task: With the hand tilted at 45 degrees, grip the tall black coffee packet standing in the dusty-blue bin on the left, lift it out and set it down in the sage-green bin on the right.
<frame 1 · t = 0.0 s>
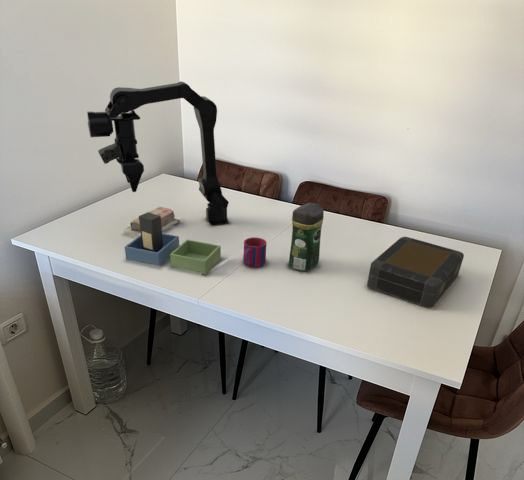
hand: (131, 187, 158), 15 cm above the table, tool pointing down, fingers open, 9 cm apart
red cup: (251, 265, 150), on the table
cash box: (411, 281, 146), on the table
blue bin: (153, 255, 153), on the table
packaged product: (152, 229, 169), on the table
coffee jar: (303, 265, 151), on the table
green bin: (196, 263, 149), on the table
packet: (153, 253, 153), point 1 cm above the table, touching blue bin
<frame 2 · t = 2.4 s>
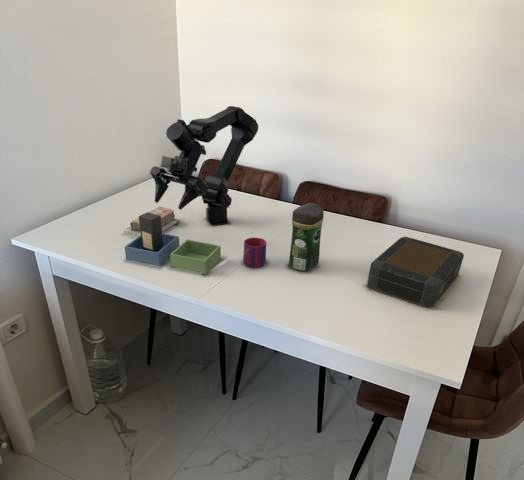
hand: (167, 205, 151), 13 cm above the table, tool tilted 45°, fingers open, 9 cm apart
nothing on the table moved.
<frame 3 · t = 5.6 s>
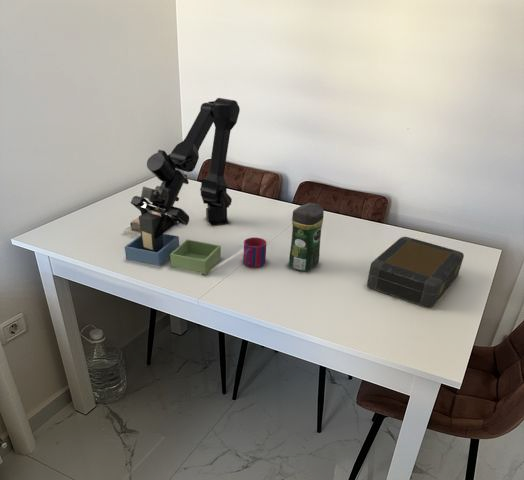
hand: (148, 235, 148), 7 cm above the table, tool tilted 45°, fingers closed on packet, 5 cm apart
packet: (153, 253, 153), point 1 cm above the table, touching blue bin, gripper
everything else where it was.
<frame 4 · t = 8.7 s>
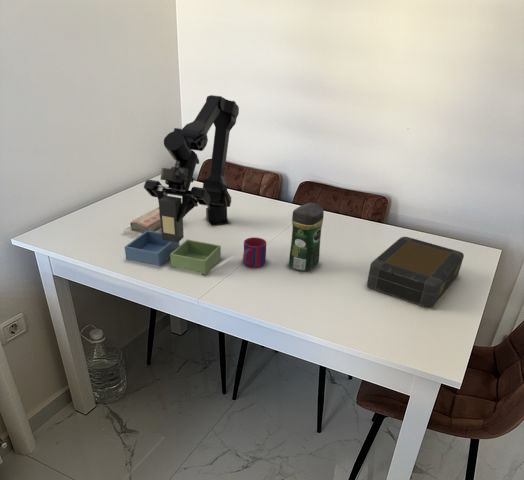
hand: (169, 220, 141), 13 cm above the table, tool tilted 45°, fingers closed on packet, 5 cm apart
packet: (173, 238, 146), point 7 cm above the table, touching gripper
everything else where it was.
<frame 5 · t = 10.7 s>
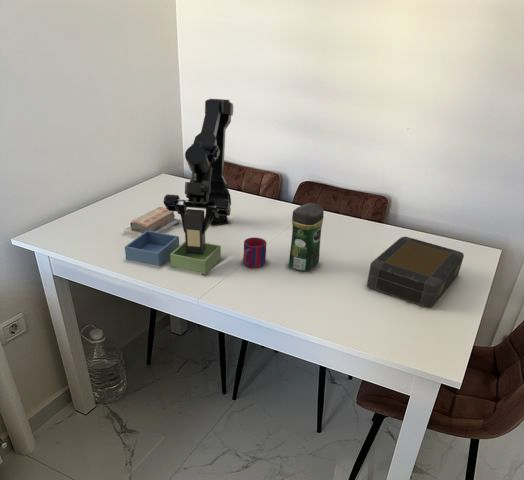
hand: (193, 233, 142), 10 cm above the table, tool tilted 45°, fingers closed on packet, 5 cm apart
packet: (195, 251, 147), point 4 cm above the table, touching gripper
everything else where it was.
when the fingers open (7 cm above the table, at t = 12.2 s): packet stays where it is, resting on green bin.
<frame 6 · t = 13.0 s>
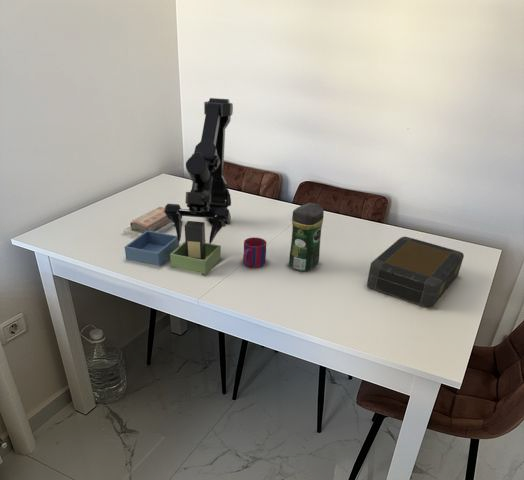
hand: (194, 241, 144), 8 cm above the table, tool tilted 45°, fingers open, 9 cm apart
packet: (196, 262, 149), point 1 cm above the table, touching green bin
everything else where it was.
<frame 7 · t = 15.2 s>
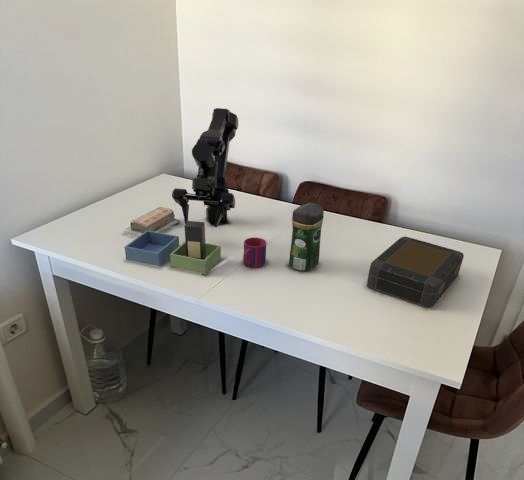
hand: (200, 225, 151), 9 cm above the table, tool tilted 40°, fingers open, 9 cm apart
nothing on the table moved.
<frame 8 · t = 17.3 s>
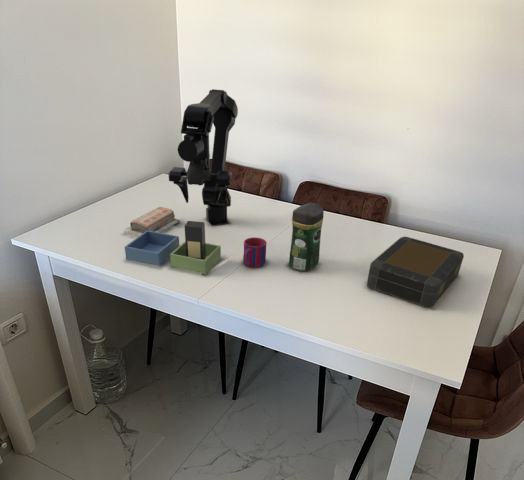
hand: (201, 203, 157), 12 cm above the table, tool pointing down, fingers open, 9 cm apart
nothing on the table moved.
at the end: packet 0.0 cm off-centre in the green bin, point 0.6 cm above the green bin's base; the gripper is holding nothing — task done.
